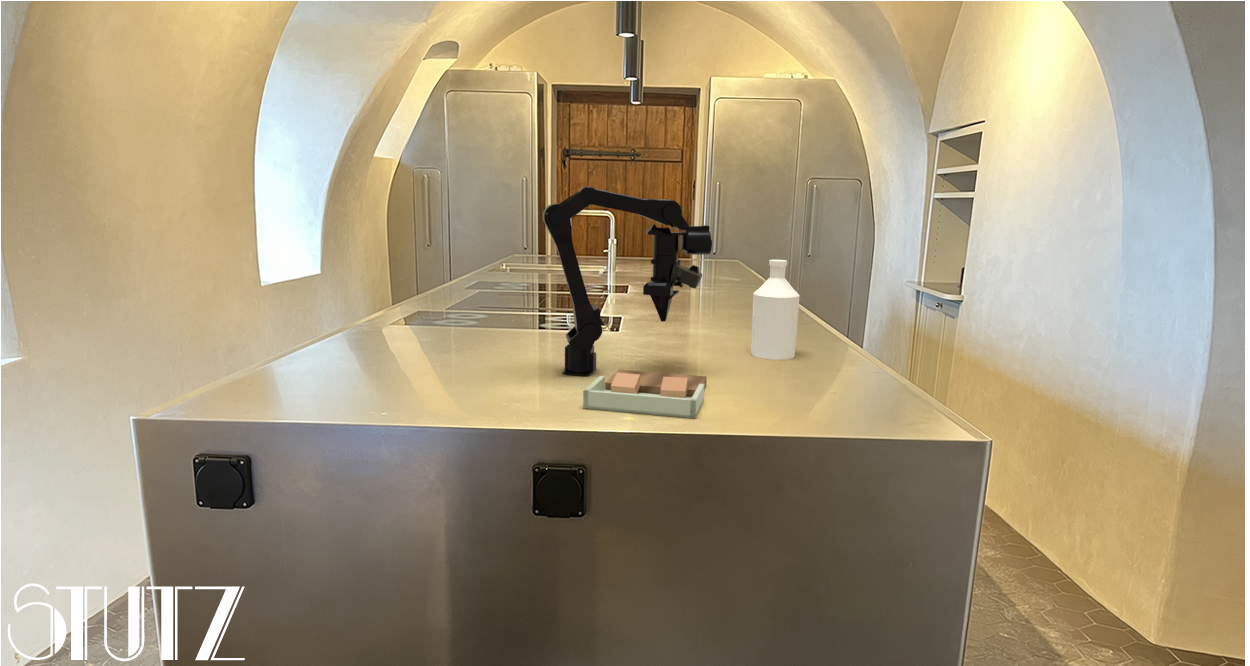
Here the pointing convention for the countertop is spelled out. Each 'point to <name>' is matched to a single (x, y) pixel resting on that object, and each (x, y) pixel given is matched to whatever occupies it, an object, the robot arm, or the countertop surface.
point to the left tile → (626, 383)
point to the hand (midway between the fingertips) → (663, 321)
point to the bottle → (775, 316)
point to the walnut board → (659, 381)
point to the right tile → (674, 387)
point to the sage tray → (641, 401)
